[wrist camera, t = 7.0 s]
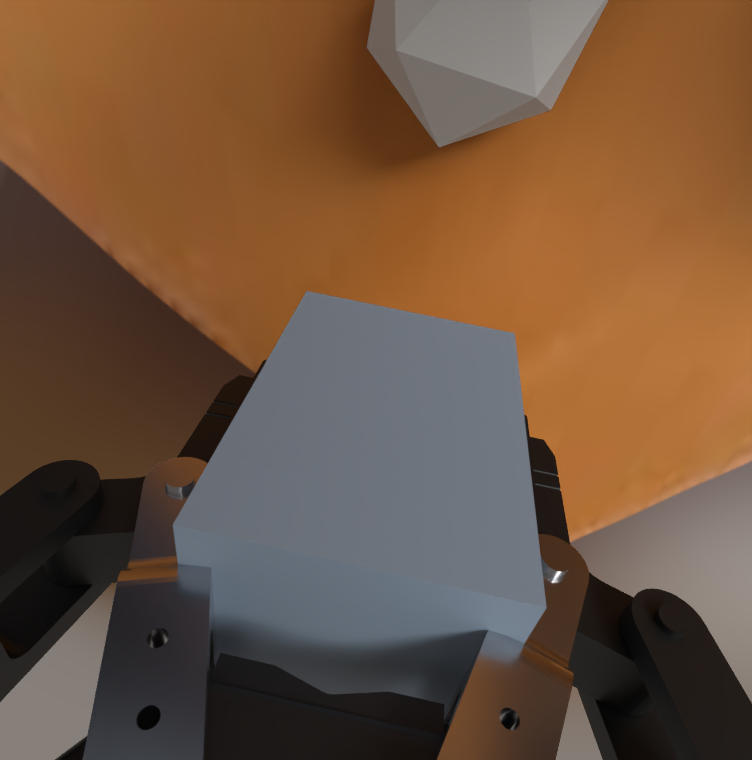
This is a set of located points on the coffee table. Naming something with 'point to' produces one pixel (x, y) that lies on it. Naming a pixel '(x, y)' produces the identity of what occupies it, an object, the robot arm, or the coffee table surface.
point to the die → (479, 58)
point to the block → (371, 503)
